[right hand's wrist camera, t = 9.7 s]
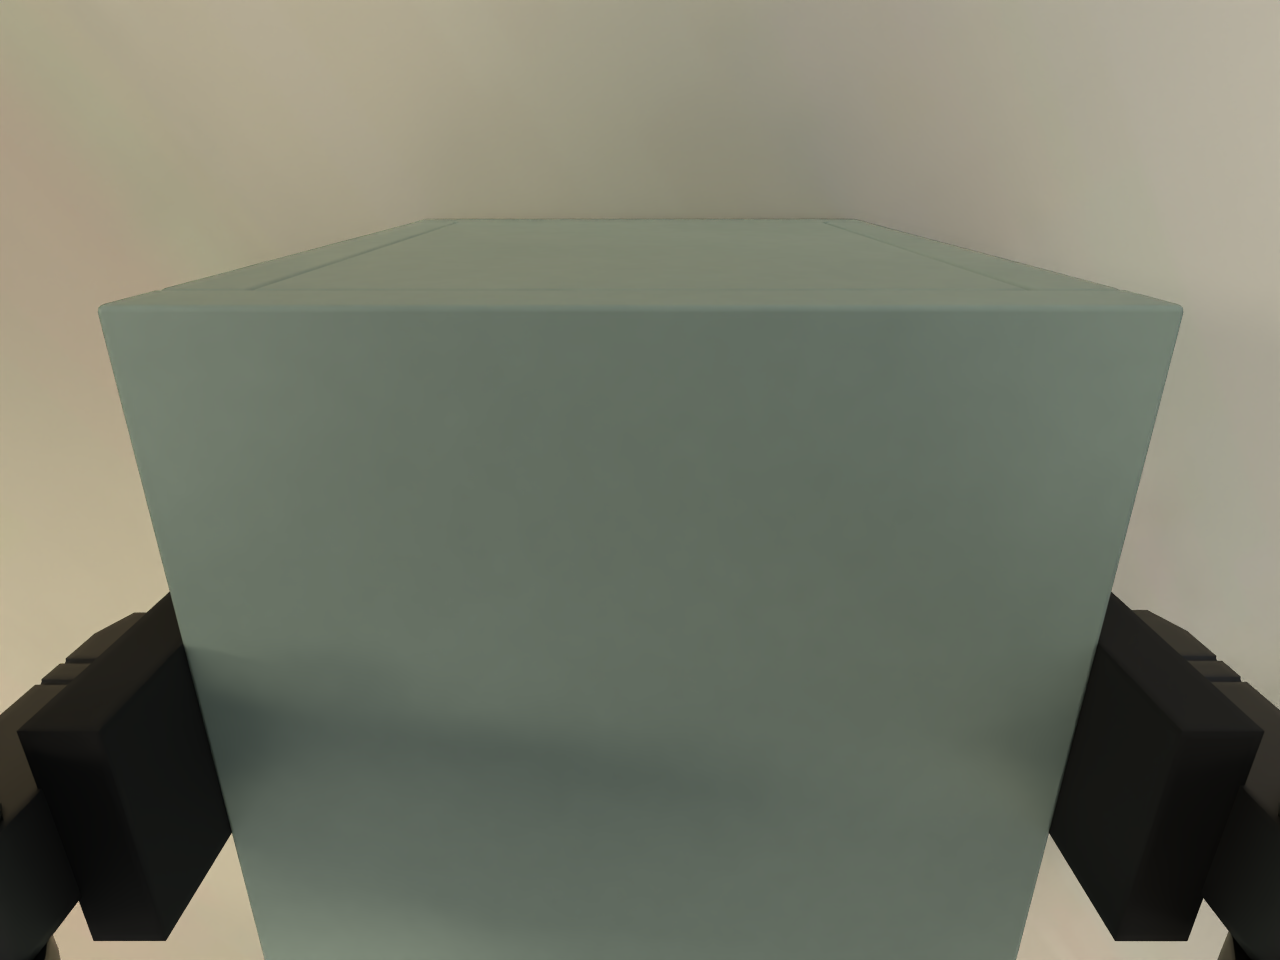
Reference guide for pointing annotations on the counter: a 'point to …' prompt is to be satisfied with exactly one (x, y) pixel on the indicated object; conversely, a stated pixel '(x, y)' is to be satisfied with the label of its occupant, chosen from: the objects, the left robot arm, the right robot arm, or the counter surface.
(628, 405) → the cabinet
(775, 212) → the counter surface
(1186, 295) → the counter surface
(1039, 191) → the counter surface
